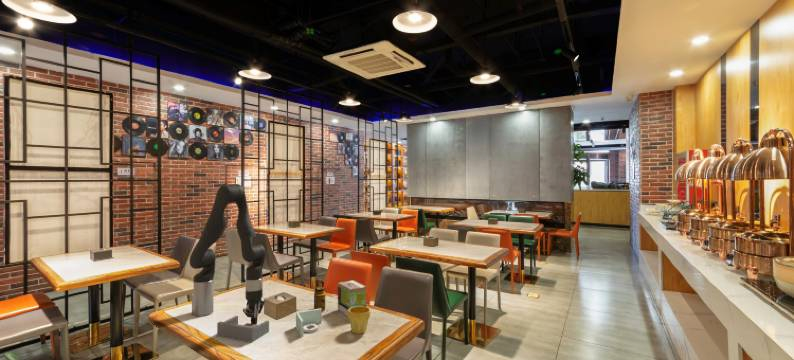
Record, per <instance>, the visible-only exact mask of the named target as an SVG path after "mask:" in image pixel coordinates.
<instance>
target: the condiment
mask: <svg viewBox="0 0 794 360" xmlns="http://www.w3.org/2000/svg"><path fill="white" fill-rule="evenodd" d="M325 290H326V289H325V287H323V286H316V287H315V288H314V294H313V308H309V309H308V310H314V309H320V308H321V309H322V313H325V312H328V309H326V291H325Z"/></svg>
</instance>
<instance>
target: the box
mask: <svg viewBox="0 0 794 360" xmlns="http://www.w3.org/2000/svg"><path fill="white" fill-rule="evenodd" d="M257 325H258V326H256V327H252V326H245V324H239V316H238V315H235V316H232V317H230V318H229V319H227V320H224V321H217V322H216V327H217V328H216V329H217V330H216V331H217V334H216V335H217V337H220V338H224V339H225V338H226V339H232V340H238V341H243V342H249V343H253V342H255V341H257V340H258V339H260V338H261V337H263V336H264V335H266V334H268V333H269V332H270V320H264V321H262V322H261V323H260V324H257Z"/></svg>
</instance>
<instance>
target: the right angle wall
mask: <svg viewBox="0 0 794 360" xmlns="http://www.w3.org/2000/svg"><path fill="white" fill-rule="evenodd" d="M322 313H323V312H322V309H321V308H320V309H314V310H303V311H302V310H301V311H296V312H295V328H296V330H297V332H298V334H299V336H300V337H301V338H303V337H304V333H307V334H309V333H310V334H312V333H315V332H317V331H318V330H319V326H318V324H322V315H323V314H322Z"/></svg>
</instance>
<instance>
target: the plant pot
mask: <svg viewBox="0 0 794 360" xmlns="http://www.w3.org/2000/svg"><path fill="white" fill-rule="evenodd" d="M347 318H348V319H349V324H350V329H351V332H352V333H354V334H355V335H356V334H364V333H365V332H366V331H367V327H368V323H369V319H370V318H371V309H370V307H367V306H366V307H365V306H355V307H351V308H349V309H348V316H347Z"/></svg>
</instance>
